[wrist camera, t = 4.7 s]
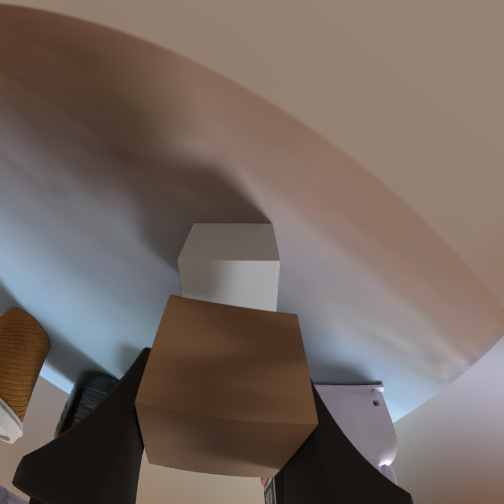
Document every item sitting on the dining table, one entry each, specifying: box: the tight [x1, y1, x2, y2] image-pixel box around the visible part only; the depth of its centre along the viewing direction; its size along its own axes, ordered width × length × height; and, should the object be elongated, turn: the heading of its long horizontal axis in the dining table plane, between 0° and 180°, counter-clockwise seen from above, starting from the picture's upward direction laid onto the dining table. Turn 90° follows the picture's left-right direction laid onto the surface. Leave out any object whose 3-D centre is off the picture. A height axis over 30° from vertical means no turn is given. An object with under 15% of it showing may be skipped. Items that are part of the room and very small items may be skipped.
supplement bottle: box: [54, 372, 118, 439], centre depth 22 cm, size 7×7×12 cm
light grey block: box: [177, 223, 280, 312], centre depth 18 cm, size 5×5×5 cm
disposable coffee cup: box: [0, 308, 50, 443], centre depth 18 cm, size 10×10×12 cm
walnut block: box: [135, 295, 318, 478], centre depth 10 cm, size 5×5×5 cm
